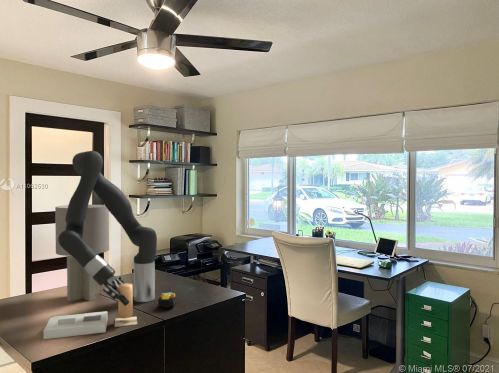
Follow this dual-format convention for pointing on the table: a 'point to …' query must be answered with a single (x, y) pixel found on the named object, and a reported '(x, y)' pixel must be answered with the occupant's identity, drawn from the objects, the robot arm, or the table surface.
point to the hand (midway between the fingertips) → (130, 301)
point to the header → (76, 325)
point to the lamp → (94, 237)
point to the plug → (128, 309)
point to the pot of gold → (167, 300)
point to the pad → (125, 321)
